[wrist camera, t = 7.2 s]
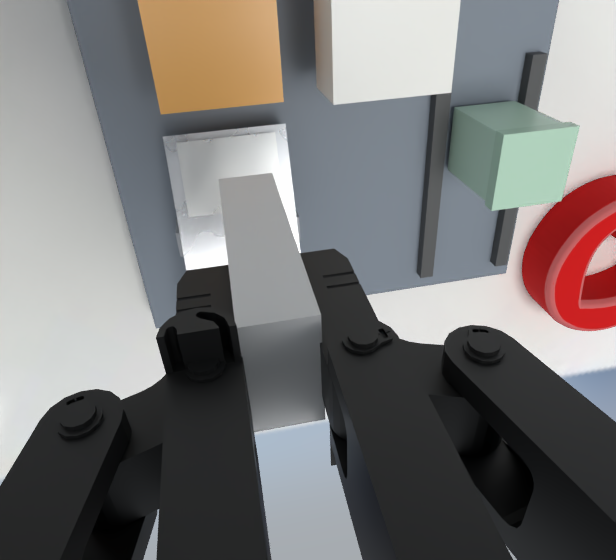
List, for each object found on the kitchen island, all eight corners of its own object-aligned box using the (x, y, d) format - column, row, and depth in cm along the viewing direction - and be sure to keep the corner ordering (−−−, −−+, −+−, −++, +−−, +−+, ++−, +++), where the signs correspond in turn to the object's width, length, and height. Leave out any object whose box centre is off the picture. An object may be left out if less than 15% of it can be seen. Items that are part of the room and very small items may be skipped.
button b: (311, -44, 18) (330, -44, 15) (430, -52, 18) (466, -52, 16) (316, 87, 20) (333, 104, 18) (421, 76, 21) (451, 92, 18)
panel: (63, -56, 19) (38, -57, 16) (546, -82, 22) (606, -88, 19) (157, 306, 29) (154, 350, 25) (488, 256, 31) (522, 289, 28)
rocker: (164, 137, 21) (161, 136, 20) (282, 124, 22) (286, 123, 21) (203, 356, 24) (202, 367, 23) (307, 339, 25) (312, 349, 23)
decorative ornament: (493, 293, 34) (519, 322, 31) (575, 155, 29) (613, 175, 26) (601, 315, 37) (633, 343, 34) (690, 193, 32) (734, 215, 30)
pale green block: (452, 105, 23) (503, 135, 19) (516, 98, 24) (579, 126, 20) (445, 171, 25) (491, 210, 21) (505, 164, 25) (561, 201, 22)
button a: (137, -34, 18) (130, -32, 16) (262, -42, 18) (273, -41, 16) (163, 96, 20) (160, 114, 18) (273, 85, 21) (283, 101, 19)
